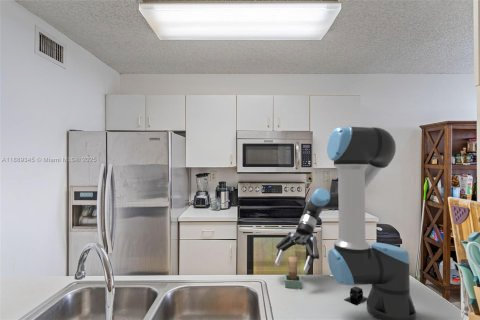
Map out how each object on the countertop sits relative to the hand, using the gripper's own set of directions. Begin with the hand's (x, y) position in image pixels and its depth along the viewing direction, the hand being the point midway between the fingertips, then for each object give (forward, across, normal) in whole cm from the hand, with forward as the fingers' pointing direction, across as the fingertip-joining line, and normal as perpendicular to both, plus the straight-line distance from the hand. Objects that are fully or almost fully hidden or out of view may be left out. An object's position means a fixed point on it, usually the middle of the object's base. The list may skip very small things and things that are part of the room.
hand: (290, 267), depth 117 cm
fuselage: (+4, 0, -7) cm, 8 cm away
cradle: (+4, 0, -7) cm, 8 cm away
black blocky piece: (+2, -25, -11) cm, 27 cm away
